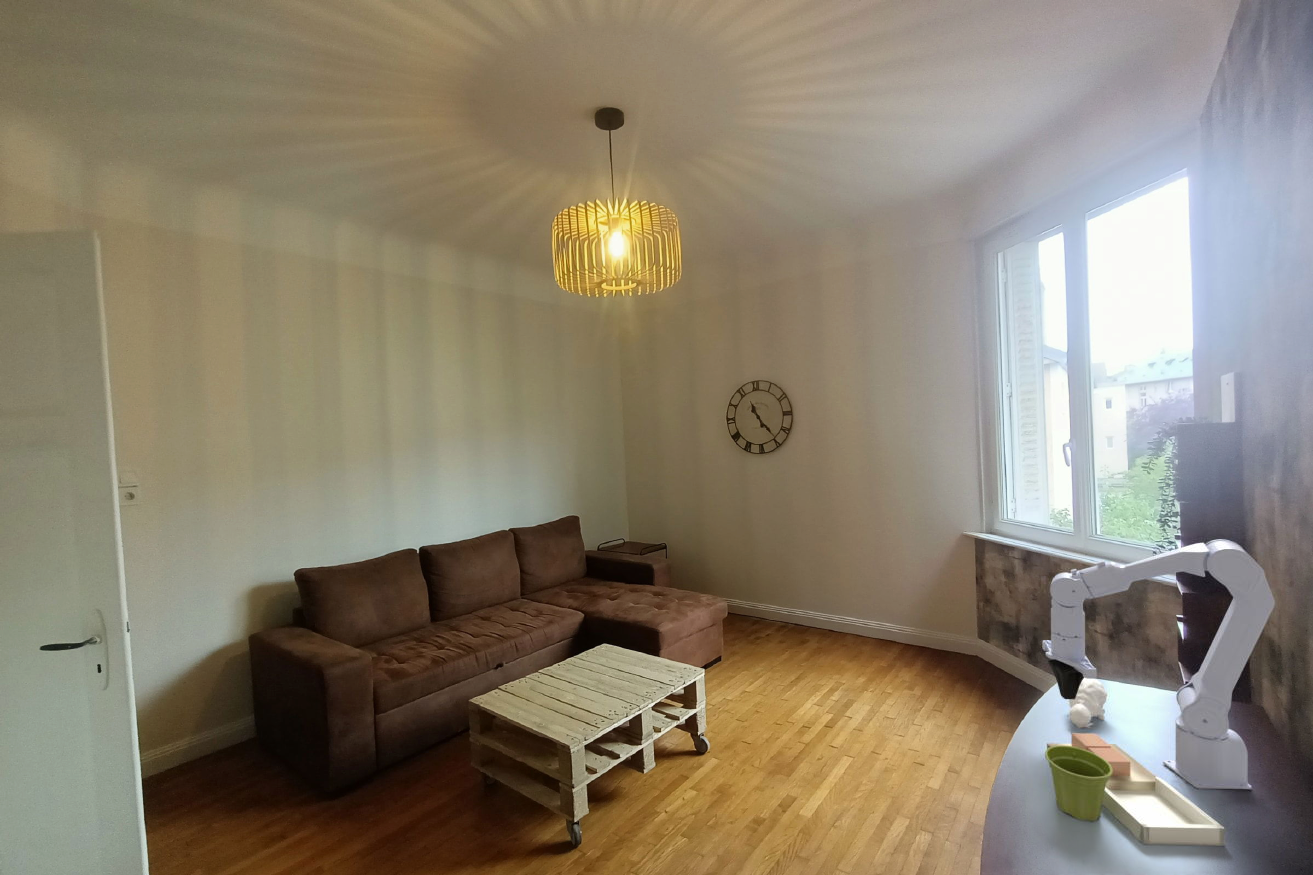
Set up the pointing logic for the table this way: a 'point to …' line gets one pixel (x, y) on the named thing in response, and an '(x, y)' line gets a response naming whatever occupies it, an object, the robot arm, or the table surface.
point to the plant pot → (1078, 780)
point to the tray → (1163, 816)
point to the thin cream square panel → (1135, 781)
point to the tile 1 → (1087, 741)
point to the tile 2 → (1113, 760)
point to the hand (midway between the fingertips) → (1068, 697)
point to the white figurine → (1088, 703)
